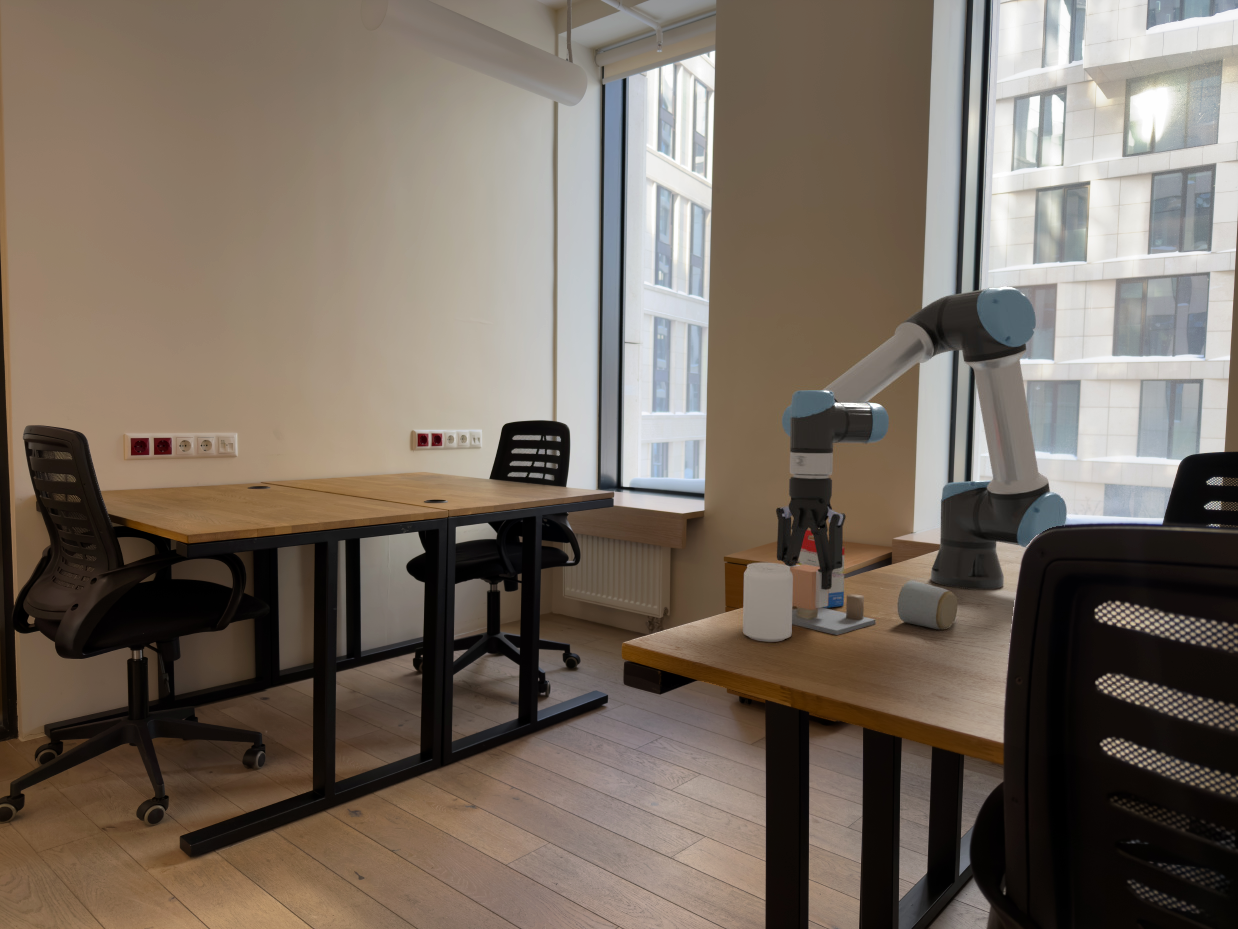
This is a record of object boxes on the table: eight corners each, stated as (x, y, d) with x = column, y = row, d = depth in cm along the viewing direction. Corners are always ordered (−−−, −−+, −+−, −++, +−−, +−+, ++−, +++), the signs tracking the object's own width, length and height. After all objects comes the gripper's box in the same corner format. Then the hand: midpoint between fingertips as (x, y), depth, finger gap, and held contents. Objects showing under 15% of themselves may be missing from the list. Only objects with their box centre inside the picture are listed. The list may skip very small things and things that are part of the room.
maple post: (805, 618, 150) (806, 576, 150) (817, 621, 148) (818, 578, 148) (796, 620, 149) (797, 578, 148) (808, 623, 147) (809, 580, 146)
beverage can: (785, 645, 132) (786, 572, 132) (736, 639, 136) (738, 568, 135) (796, 633, 140) (797, 564, 139) (750, 628, 143) (751, 560, 142)
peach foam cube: (804, 600, 152) (805, 564, 152) (828, 605, 148) (829, 568, 148) (787, 604, 149) (788, 567, 148) (811, 610, 145) (811, 572, 144)
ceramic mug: (939, 634, 140) (941, 590, 140) (895, 624, 146) (897, 582, 146) (967, 625, 147) (969, 583, 147) (924, 616, 154) (926, 576, 153)
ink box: (844, 606, 160) (846, 532, 159) (825, 609, 158) (827, 533, 157) (815, 597, 168) (817, 526, 167) (796, 600, 166) (798, 528, 165)
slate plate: (810, 609, 157) (811, 584, 157) (875, 623, 147) (876, 597, 147) (771, 619, 150) (771, 593, 149) (836, 635, 139) (837, 607, 139)
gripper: (757, 474, 151) (755, 597, 153) (842, 480, 138) (838, 616, 139) (782, 472, 156) (780, 592, 158) (867, 478, 142) (863, 609, 144)
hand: (807, 603), depth 148 cm, fingers closed on peach foam cube, 5 cm apart
